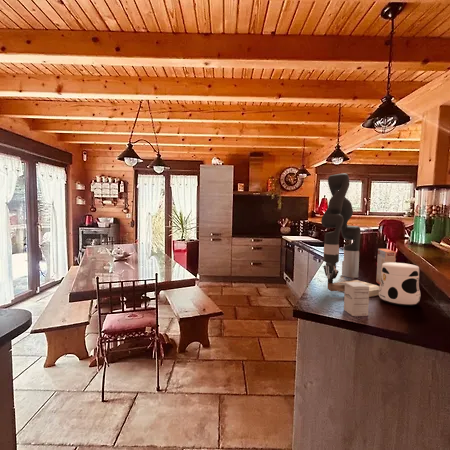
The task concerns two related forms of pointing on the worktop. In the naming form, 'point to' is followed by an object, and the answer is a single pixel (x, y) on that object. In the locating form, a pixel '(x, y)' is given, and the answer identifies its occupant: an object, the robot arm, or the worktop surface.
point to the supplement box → (356, 298)
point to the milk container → (400, 284)
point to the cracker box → (384, 261)
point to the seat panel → (372, 288)
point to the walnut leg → (336, 286)
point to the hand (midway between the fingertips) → (330, 285)
